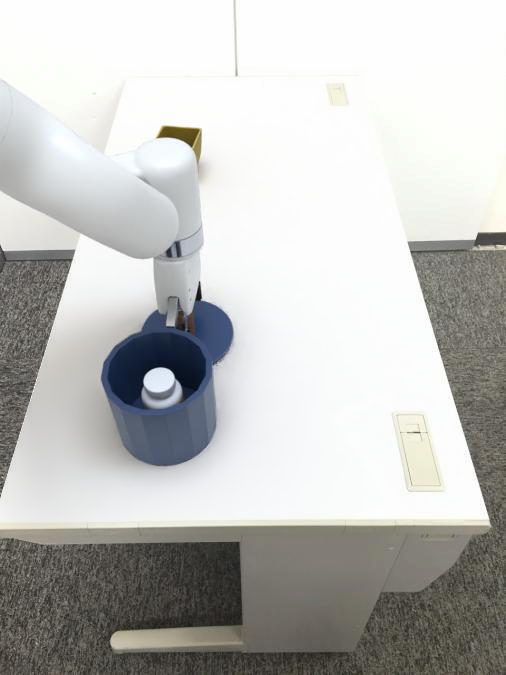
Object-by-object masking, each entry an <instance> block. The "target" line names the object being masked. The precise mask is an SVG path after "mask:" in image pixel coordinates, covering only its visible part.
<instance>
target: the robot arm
mask: <svg viewBox="0 0 506 675" xmlns="http://www.w3.org/2000/svg"><path fill="white" fill-rule="evenodd" d="M0 192H1V193H3V194H5V195H6V196H8V197H10V199H13V200H15V201H17V202H19V203H21V204H23V205H25V206H27V207H29V208H31V209H32V210H35V211H37V212H40V213H41V214H44V215H45V216H48V217H49V218H50V219H51V218H52V219H53V220H55V221H57V222H59V223H60V224H63V225H64V226H66V227H67V228H70V229H72V230H74V231H75V232H77V233H79V234H81V235H82V236H85V237H87V238H88V239H90V240H93V241H95V242H96V243H99V244H101V245H102V246H105V247H107V248H109V249H112V250H114V251H116V252H118V253H120V254H123V255H125V256H127V257H130V258H133V259H136V260H149V259H152V260H153V261H152V262H153V263H152V264H153V266H152V267H153V269H152V270H153V281H154V282H153V283H154V289H155V291H154V292H155V298H156V305H157V309H158V311H159V313H160V314H166V313H167V310H168V313H167V321H166V328H174V329H178V330H181V331H185V332H188V333H191V332H190V327H188V315H190V314H191V313H192V310H193V306H194V302H195V301H200V300H201V301H202V299H203V295H202V294H203V293H202V284H201V272H202V271H201V269H202V268H201V267H202V266H201V265H202V264H201V255H200V254H201V253H200V251H201V250H202V249H203V247H204V245H205V239H204V227H203V218H202V216H203V215H202V204H201V194H200V183H199V173H198V165H197V161H196V156H195V153H194V151H193V149H192V148H191V147H190V146H189V145H188V144H187V143H185V142H183V141H181V140H178V139H174V138H157V139H155V138H154V139H149V140H147V141H145V142H143V143H142V144H141V145H140V146H138V147H137V148H136V149H134V150H130V151H126V152H122V153H118V154H112V155H106V154H105V153H103V152H102V151H101V150H99V149H97V148H96V147H95V146H94V145H92V144H91V143H89V142H88V141H87V140H86V139H84V138H83V137H82V136H80V134H78V133H77V132H75V131H74V130H73V129H72V128H71V127H69V126H68V125H67V124H66V123H64V122H63V121H62V120H61V119H59V117H56V116H55V115H54V114H52V113H51V111H49V110H47V109H46V108H44V107H43V106H42V105H40V104H39V103H37V102H36V101H35V100H33V99H32V98H30V97H29V96H28V95H26V94H25V93H23V92H22V91H20V90H19V89H17V88H15V87H14V86H13V85H11V84H9V83H8V82H7V81H6V80H4V79H3V78H1V77H0ZM179 305H180V307H181V308H182V310H178V309H179ZM178 315H183V324H178V323H177V317H178Z"/></svg>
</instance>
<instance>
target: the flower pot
mask: <svg viewBox="0 0 506 675" xmlns="http://www.w3.org/2000/svg"><path fill="white" fill-rule="evenodd" d="M157 138H174V139H178V140H181V141H183V142H185V143H187V144H188V145H189V146H190V147H191V148H192V149H193V151H194V153H195V156H196V161H197V166H198V164H199V162H200V159H201V154H202V145H203V144H202V143H203V142H202V141H203V140H202V139H203V128H202V127H192V126H191V127H190V126H177V125H168V124H167V125H166V124H165V125H164V124H163V125H161V127H160V128H159V131H158V132H157V134H156V136H155V138H154V139H157Z"/></svg>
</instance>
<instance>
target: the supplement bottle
mask: <svg viewBox="0 0 506 675" xmlns="http://www.w3.org/2000/svg"><path fill="white" fill-rule="evenodd" d="M141 396H142V401H143V405H144V409H145V410H152V409H165V408H168V407H171V406H174V405H176V404H179V403H182V402H184V398H183V391H182V387H181V385H180V383H179V382H178V381H177V380H176V379H175V377H174V374H173V373H172V372H171V371H170V370H169V369H166V368H155V369H152V370H151V371H149V372H148V373H147V374H146V375H145V377H144V387H143V389H142V393H141Z"/></svg>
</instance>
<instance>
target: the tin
mask: <svg viewBox="0 0 506 675" xmlns="http://www.w3.org/2000/svg"><path fill="white" fill-rule="evenodd" d="M155 368H166V369H169V370H170V371H171V372H172V373H173V374H174V377H175V379H176V380H177V381H178V382H179V383H180V385H181V387H182V391H183V398H184V402H182V403H179V404H176V405H174V406H171V407H168V408H165V409H152V410H145V409H144V405H143V401H142V396H141V393H142V389H143V387H144V377H145V375H146V374H147V373H148V372H149V371H151V370H152V369H155ZM100 374H101V375H100V382H101V384H102V388H103V390H104V393H105V397H106V399H107V402H108V405H109V408H110V410H111V413H112V416H113V419H114V422H115V425H116V428H117V431H118V434H119V437H120V439H121V442H122V444H123V446H124V447H125V448H126V450H127V451H128V452H129V454H131V455H132V456H133V457H134V458H135V459H137V460H138V461H141V462H143V463H145V464H147V465H152V466H159V467H168V466H176V465H179V464H180V465H181V464H183V463H185V462H189V460H192V459H193V458H195V457H196V456H198V455H199V454H200V453H202V452H203V451H204V450H205V449H206V448H207V446H208V445H209V444H210V443H211V441H212V440H213V437H214V435H215V432H216V428H217V400H216V388H215V387H216V386H215V377H214V363H213V362H212V357H211V356H210V354H209V352H208V350H207V348H206V346H205V344H204V343H203V342H201V341H200V340H199V339H197V338H196V337H195V336H193V335H192V334H191V333H188V332H185V331H181V330H178V329H174V328H150V329H147V330H144V331H141V330H140V331H138V332H135V333H132V334H129V336H127V337H125V338H124V339H122V340H121V341H120V342H118V343H116V345H114V346H113V348H112V349H111V351H110V352H109V353H108V355H107V356H106V358H105V359H104V361H103V363H102V370H101V373H100Z"/></svg>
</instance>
